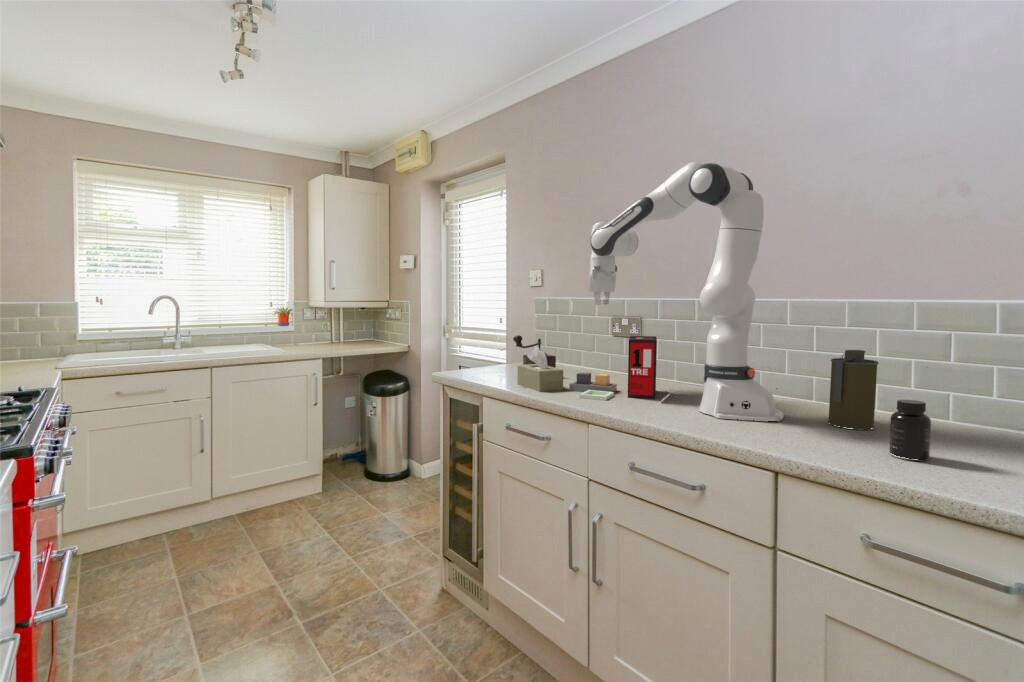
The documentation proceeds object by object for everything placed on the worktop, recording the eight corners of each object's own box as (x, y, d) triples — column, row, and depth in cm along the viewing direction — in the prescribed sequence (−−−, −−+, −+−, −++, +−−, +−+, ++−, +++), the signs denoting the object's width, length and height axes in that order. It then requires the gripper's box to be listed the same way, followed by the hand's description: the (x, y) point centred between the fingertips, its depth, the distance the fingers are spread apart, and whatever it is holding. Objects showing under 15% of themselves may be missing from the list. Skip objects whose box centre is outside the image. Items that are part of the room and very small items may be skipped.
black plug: (590, 389, 186) (591, 373, 185) (587, 391, 182) (587, 374, 182) (580, 388, 188) (580, 372, 187) (576, 390, 184) (576, 373, 184)
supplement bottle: (911, 451, 113) (914, 398, 112) (937, 461, 106) (941, 404, 105) (880, 452, 112) (884, 398, 111) (905, 462, 106) (909, 405, 105)
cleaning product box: (629, 390, 187) (630, 335, 185) (654, 391, 184) (656, 336, 182) (627, 399, 171) (628, 339, 169) (655, 400, 168) (656, 340, 167)
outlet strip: (616, 392, 184) (616, 383, 183) (609, 395, 177) (610, 387, 176) (577, 388, 191) (577, 380, 190) (569, 392, 184) (569, 383, 183)
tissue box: (517, 385, 198) (517, 344, 197) (539, 383, 202) (539, 343, 201) (540, 394, 181) (540, 349, 180) (563, 391, 185) (564, 348, 184)
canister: (845, 419, 143) (849, 347, 141) (884, 428, 133) (888, 351, 131) (817, 422, 139) (821, 349, 137) (855, 432, 129) (859, 353, 127)
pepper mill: (541, 374, 225) (541, 333, 224) (556, 377, 216) (556, 335, 214) (511, 377, 217) (511, 335, 216) (525, 381, 208) (525, 336, 206)
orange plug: (609, 391, 183) (609, 374, 182) (606, 392, 179) (606, 375, 179) (598, 390, 185) (598, 373, 184) (595, 391, 181) (595, 375, 181)
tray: (613, 397, 174) (614, 392, 174) (605, 402, 166) (605, 396, 166) (588, 394, 178) (588, 389, 178) (579, 399, 170) (579, 394, 170)
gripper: (602, 265, 177) (601, 305, 178) (618, 267, 195) (618, 304, 196) (584, 265, 180) (584, 305, 181) (602, 268, 198) (602, 304, 199)
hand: (602, 304), depth 189 cm, fingers open, 8 cm apart
